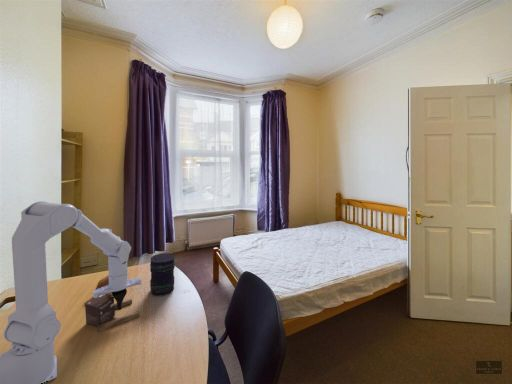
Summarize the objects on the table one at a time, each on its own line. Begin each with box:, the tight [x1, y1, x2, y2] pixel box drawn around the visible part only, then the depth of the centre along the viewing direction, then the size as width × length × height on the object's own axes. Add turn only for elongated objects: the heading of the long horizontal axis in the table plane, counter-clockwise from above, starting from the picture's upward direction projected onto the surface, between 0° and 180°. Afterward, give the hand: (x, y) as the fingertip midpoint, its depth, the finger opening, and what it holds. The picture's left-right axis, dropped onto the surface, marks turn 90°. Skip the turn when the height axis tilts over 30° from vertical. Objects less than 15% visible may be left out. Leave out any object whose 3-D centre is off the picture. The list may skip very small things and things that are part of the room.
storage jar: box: [149, 252, 176, 297], centre depth 96 cm, size 10×10×15 cm
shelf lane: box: [97, 298, 140, 332], centre depth 79 cm, size 12×11×2 cm
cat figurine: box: [83, 274, 112, 305], centre depth 91 cm, size 18×7×14 cm, turn 158°
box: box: [84, 294, 116, 327], centre depth 75 cm, size 6×6×7 cm
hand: (119, 308), depth 79 cm, fingers closed
